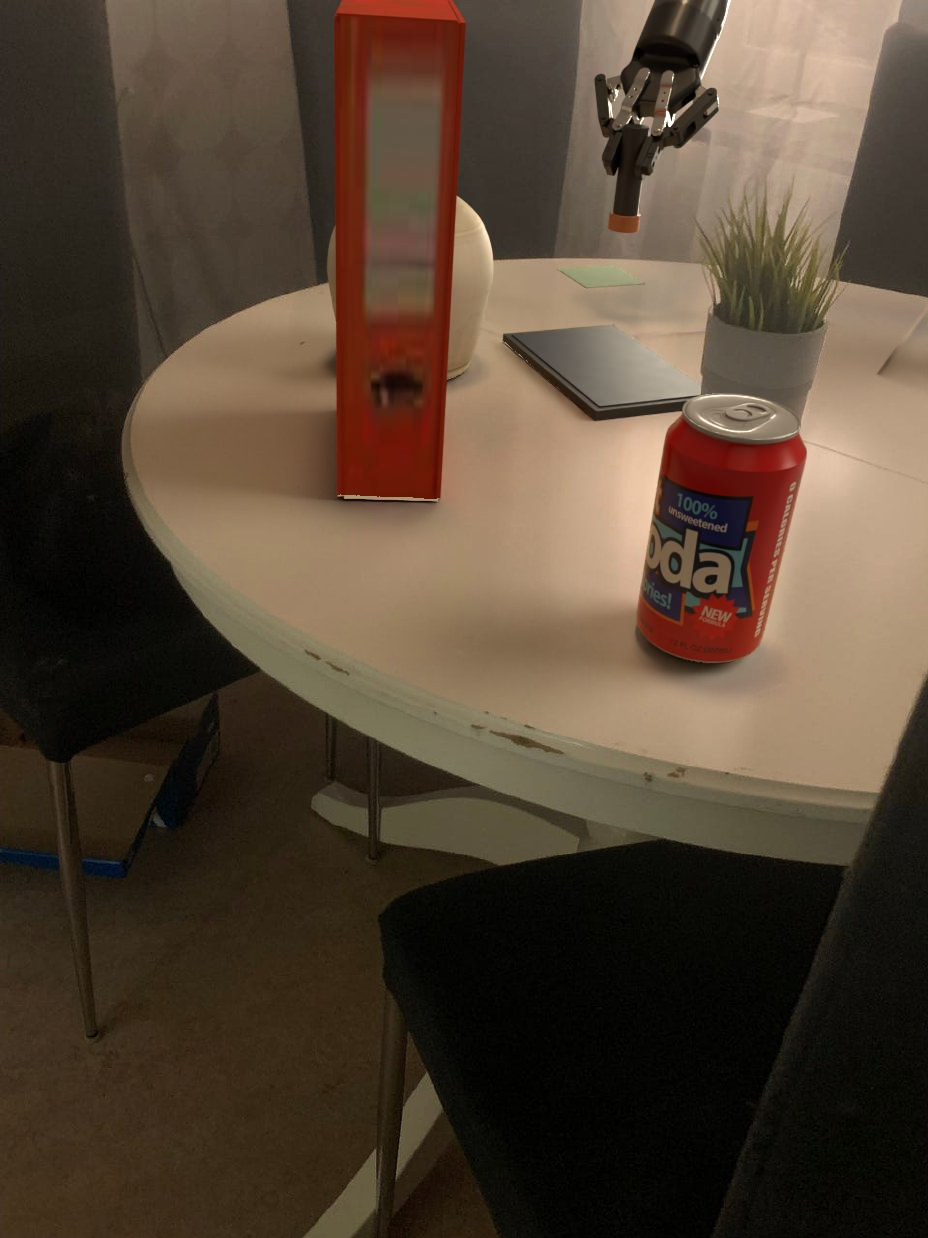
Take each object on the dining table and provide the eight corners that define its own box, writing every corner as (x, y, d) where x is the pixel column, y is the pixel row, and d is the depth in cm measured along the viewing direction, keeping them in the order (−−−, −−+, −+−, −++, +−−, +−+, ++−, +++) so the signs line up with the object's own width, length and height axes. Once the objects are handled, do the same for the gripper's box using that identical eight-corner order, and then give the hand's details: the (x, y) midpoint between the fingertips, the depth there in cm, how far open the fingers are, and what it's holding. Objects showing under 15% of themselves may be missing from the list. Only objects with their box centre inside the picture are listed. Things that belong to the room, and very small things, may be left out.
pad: (613, 269, 136) (614, 264, 136) (644, 288, 130) (645, 283, 130) (556, 273, 134) (557, 268, 133) (585, 292, 128) (586, 287, 127)
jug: (435, 406, 97) (447, 100, 83) (296, 368, 103) (285, 77, 89) (514, 358, 108) (536, 81, 94) (385, 326, 114) (387, 62, 100)
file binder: (436, 411, 96) (452, -3, 78) (444, 502, 81) (466, 19, 64) (345, 409, 95) (340, -9, 77) (337, 500, 81) (328, 12, 63)
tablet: (613, 332, 116) (614, 323, 116) (719, 405, 100) (721, 395, 100) (502, 341, 112) (502, 332, 111) (594, 420, 96) (596, 410, 95)
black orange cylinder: (629, 224, 115) (642, 122, 109) (644, 232, 112) (658, 128, 107) (602, 225, 114) (614, 122, 108) (617, 233, 111) (630, 128, 106)
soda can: (786, 649, 67) (844, 424, 59) (697, 689, 63) (746, 454, 55) (695, 591, 72) (737, 377, 64) (608, 625, 68) (640, 402, 60)
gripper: (613, -8, 110) (552, 138, 107) (747, 5, 105) (686, 158, 102) (625, 47, 117) (568, 185, 114) (751, 61, 112) (694, 206, 109)
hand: (624, 172), depth 108 cm, fingers closed on black orange cylinder, 2 cm apart
